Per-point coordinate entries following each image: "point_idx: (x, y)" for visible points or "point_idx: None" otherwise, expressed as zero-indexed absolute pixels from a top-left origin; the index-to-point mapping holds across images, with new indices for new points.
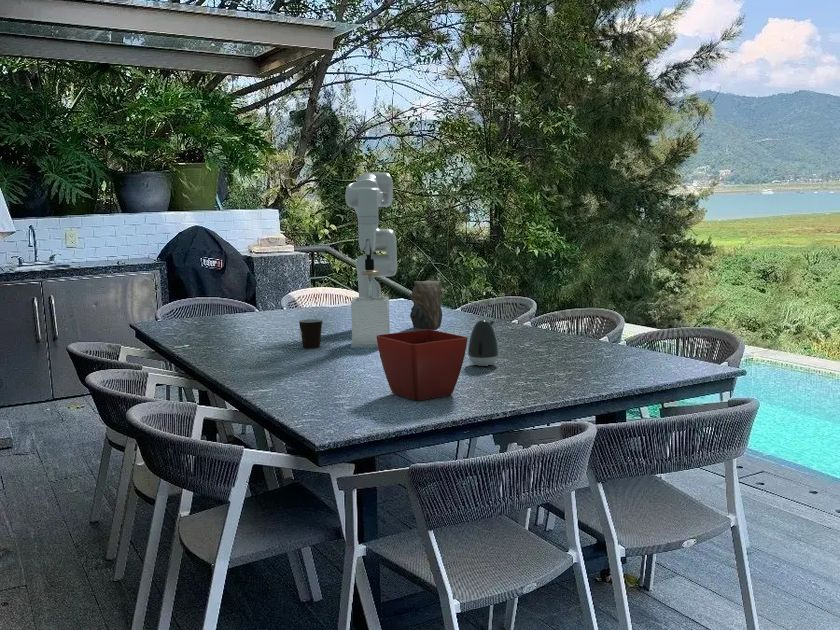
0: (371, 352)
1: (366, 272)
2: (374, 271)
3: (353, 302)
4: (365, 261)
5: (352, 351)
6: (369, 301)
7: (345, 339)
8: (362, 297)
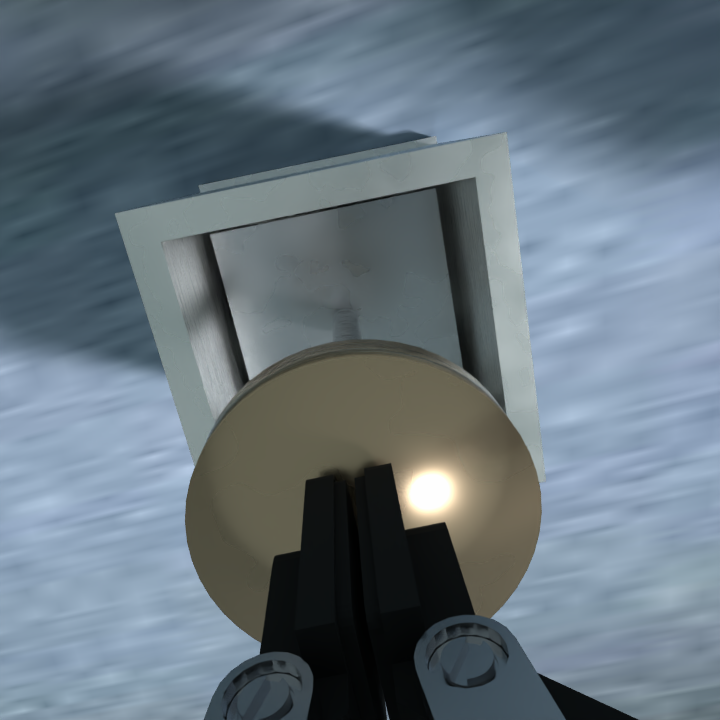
0: (89, 349)
1: (186, 513)
2: (253, 635)
3: (128, 238)
4: (301, 602)
5: (89, 232)
6: (174, 400)
7: (515, 37)
8: (481, 234)
